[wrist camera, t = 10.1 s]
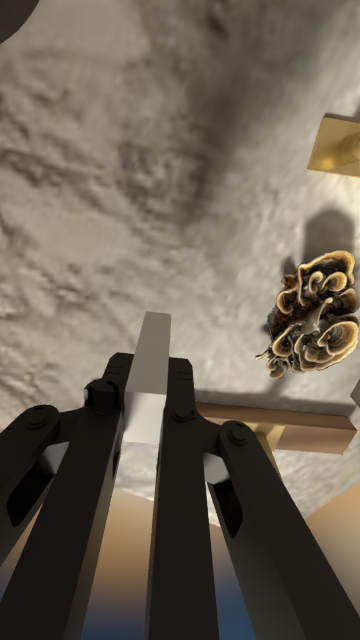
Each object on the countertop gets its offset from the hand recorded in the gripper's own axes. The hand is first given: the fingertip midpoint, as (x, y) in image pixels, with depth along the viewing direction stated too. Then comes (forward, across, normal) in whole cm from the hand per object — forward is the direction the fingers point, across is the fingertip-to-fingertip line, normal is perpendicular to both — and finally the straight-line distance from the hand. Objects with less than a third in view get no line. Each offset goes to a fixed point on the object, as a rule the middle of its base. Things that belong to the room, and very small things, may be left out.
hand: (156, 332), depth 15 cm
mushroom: (+8, +13, -1) cm, 15 cm away
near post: (+8, +12, +12) cm, 19 cm away
